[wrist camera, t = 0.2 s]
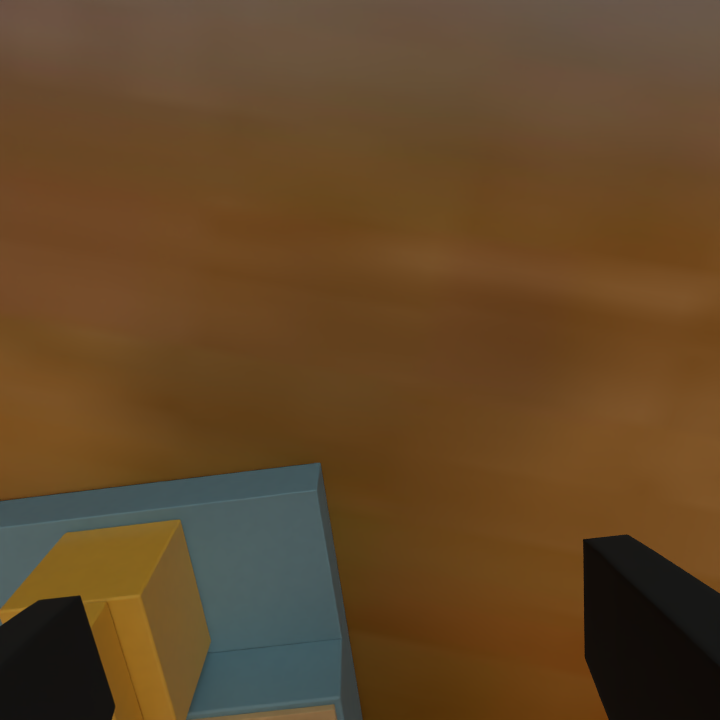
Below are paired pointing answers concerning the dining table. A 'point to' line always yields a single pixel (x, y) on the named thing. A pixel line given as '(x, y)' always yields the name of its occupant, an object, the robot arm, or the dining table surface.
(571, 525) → the dining table surface
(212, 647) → the step rack
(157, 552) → the block with handle
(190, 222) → the dining table surface
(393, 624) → the dining table surface
